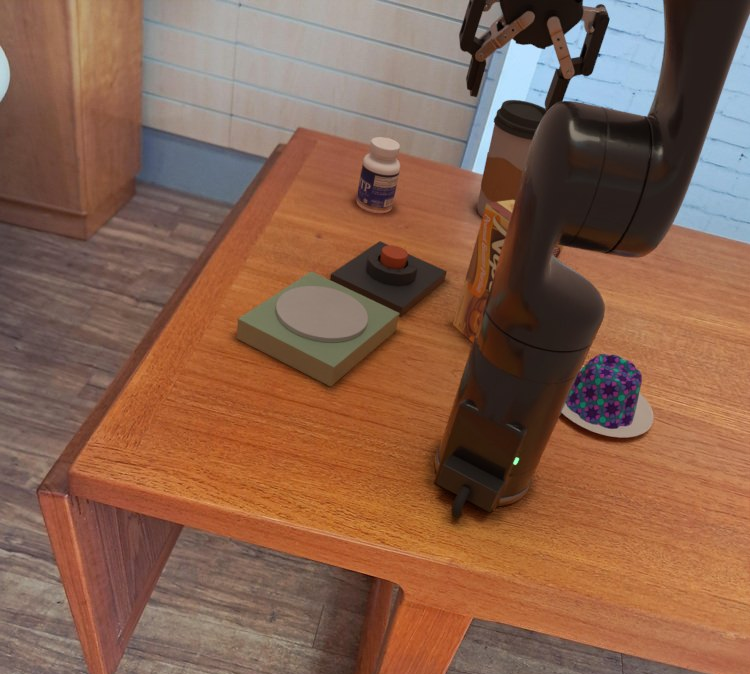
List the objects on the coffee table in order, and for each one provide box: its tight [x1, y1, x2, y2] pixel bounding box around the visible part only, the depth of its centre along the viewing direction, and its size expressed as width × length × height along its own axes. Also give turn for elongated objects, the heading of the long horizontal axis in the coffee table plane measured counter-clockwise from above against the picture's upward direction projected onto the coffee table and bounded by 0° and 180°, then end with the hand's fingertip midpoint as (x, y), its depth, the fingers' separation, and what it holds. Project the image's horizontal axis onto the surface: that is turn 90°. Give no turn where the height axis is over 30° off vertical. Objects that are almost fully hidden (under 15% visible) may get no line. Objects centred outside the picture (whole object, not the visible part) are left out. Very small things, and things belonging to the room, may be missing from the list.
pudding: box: [561, 353, 655, 438], centre depth 85 cm, size 12×12×5 cm
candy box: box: [452, 200, 564, 344], centre depth 86 cm, size 9×4×15 cm, turn 33°
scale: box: [236, 270, 400, 387], centre depth 85 cm, size 14×12×3 cm
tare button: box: [380, 244, 409, 269], centre depth 95 cm, size 3×3×2 cm
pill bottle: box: [356, 136, 401, 214], centre depth 108 cm, size 5×5×9 cm
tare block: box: [329, 240, 448, 318], centre depth 96 cm, size 12×10×3 cm
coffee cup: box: [476, 99, 547, 218], centre depth 112 cm, size 8×8×15 cm
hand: (511, 101), depth 85 cm, fingers open, 8 cm apart
